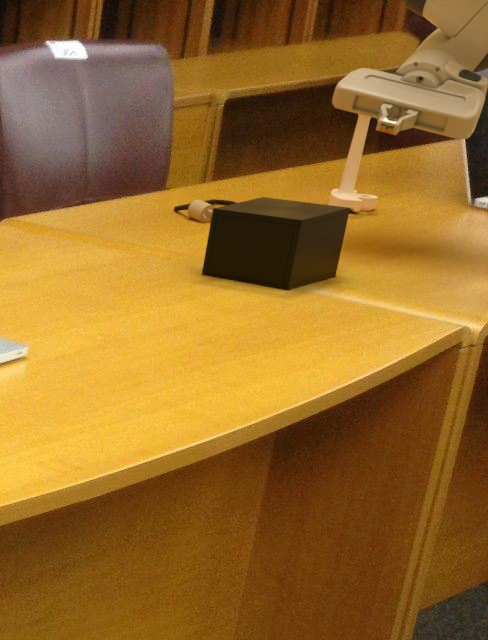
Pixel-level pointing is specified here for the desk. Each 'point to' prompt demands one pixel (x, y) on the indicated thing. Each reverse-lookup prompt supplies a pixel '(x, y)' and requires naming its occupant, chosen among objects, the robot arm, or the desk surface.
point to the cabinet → (275, 242)
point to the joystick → (354, 174)
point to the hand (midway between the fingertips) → (386, 128)
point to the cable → (202, 209)
